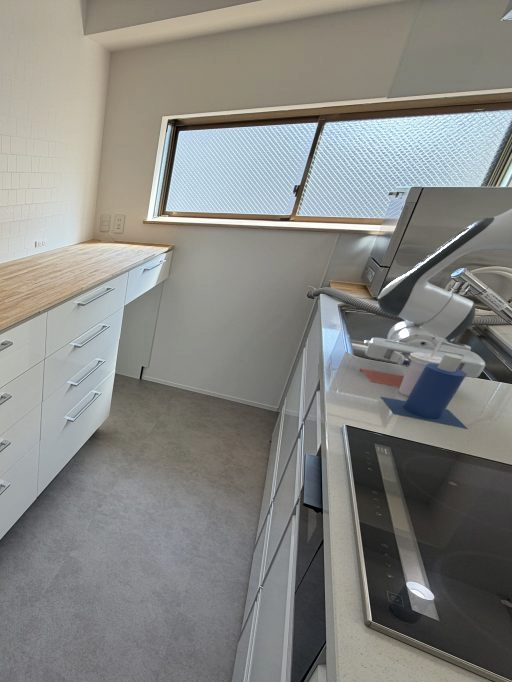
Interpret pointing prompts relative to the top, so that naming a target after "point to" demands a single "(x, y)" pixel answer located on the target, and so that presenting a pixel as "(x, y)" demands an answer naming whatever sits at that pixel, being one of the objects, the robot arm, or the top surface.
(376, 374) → the terracotta mat
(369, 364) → the top surface
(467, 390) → the top surface
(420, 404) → the blue bottle
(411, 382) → the smoothie
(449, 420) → the blue mat
